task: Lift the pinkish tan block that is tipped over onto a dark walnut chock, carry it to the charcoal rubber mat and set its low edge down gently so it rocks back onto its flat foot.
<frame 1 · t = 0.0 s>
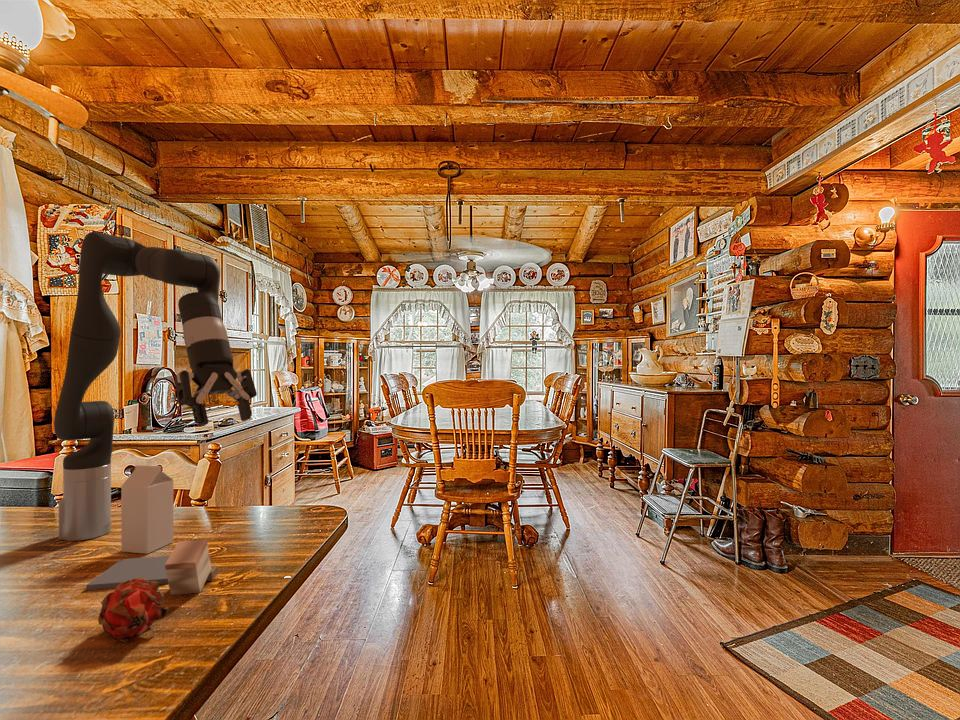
hand: (225, 422, 91), 31 cm above the table, tool tilted 20°, fingers open, 8 cm apart
dragon fruit: (133, 633, 76), on the table
pinkish tan block: (185, 593, 88), on the table, touching walnut chock
milk carton: (148, 548, 110), on the table
walnut chock: (198, 578, 94), on the table
charcoal mat: (143, 573, 97), on the table
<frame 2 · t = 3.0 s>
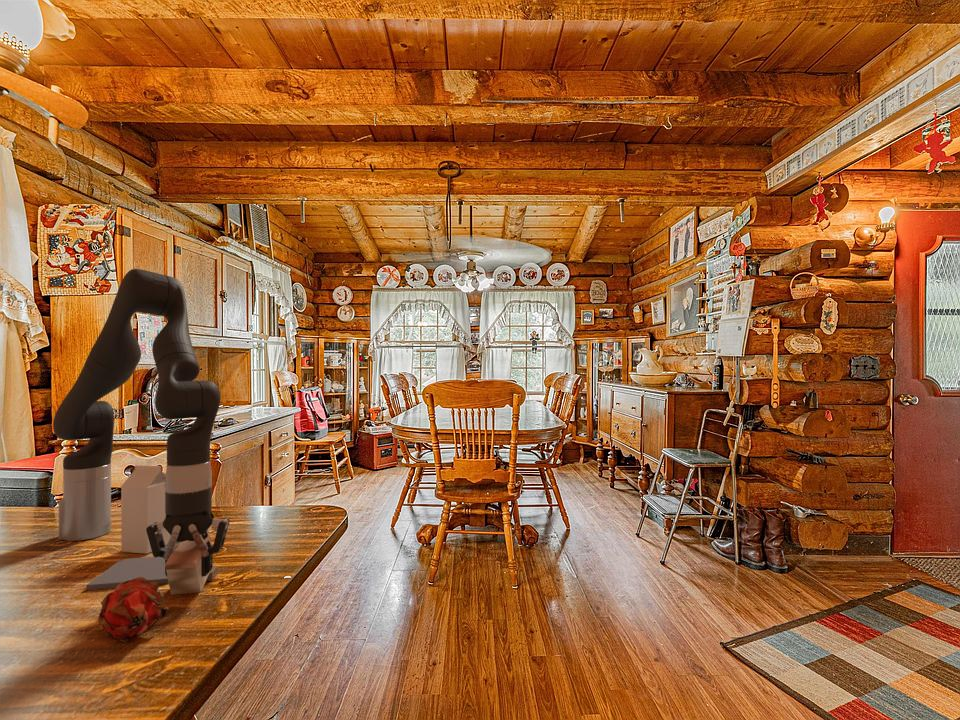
hand: (189, 575, 90), 3 cm above the table, tool pointing down, fingers closed on pinkish tan block, 5 cm apart
pinkish tan block: (185, 593, 88), on the table, touching gripper
everything else where it was.
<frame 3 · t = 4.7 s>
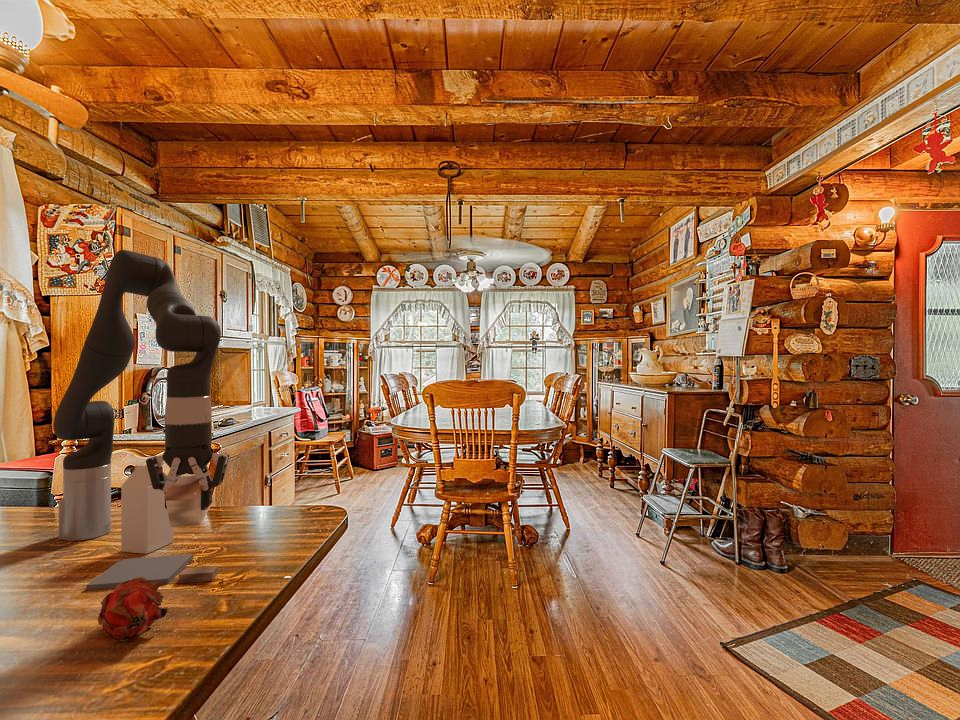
hand: (188, 509, 90), 15 cm above the table, tool pointing down, fingers closed on pinkish tan block, 5 cm apart
pinkish tan block: (185, 526, 88), point 12 cm above the table, touching gripper
everything else where it was.
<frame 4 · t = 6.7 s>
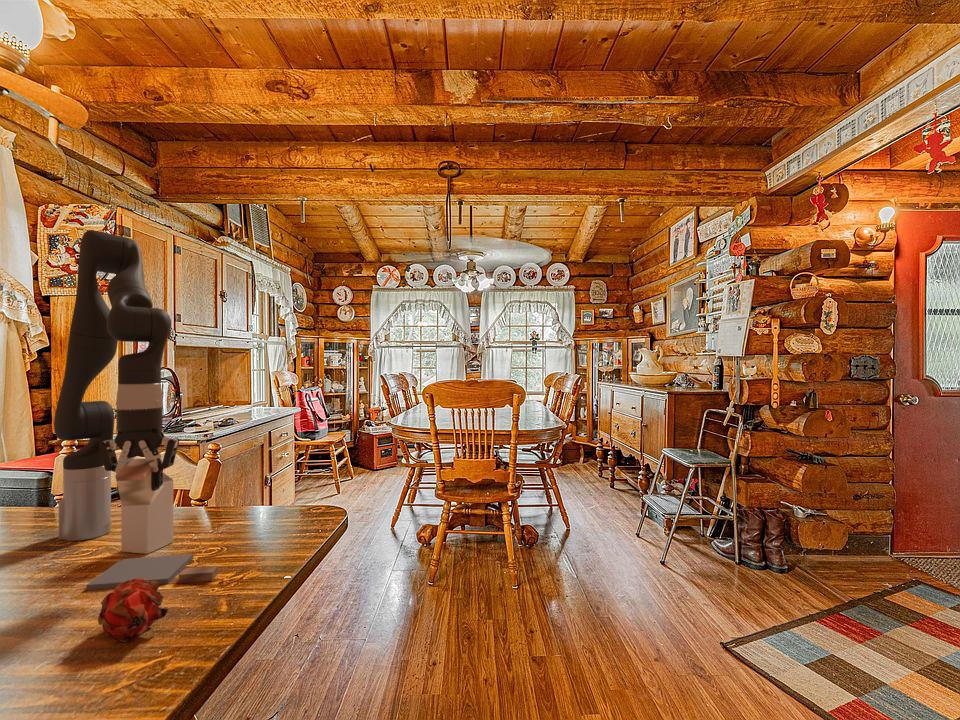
hand: (140, 490, 95), 17 cm above the table, tool pointing down, fingers closed on pinkish tan block, 5 cm apart
pinkish tan block: (136, 505, 94), point 15 cm above the table, touching gripper
everything else where it was.
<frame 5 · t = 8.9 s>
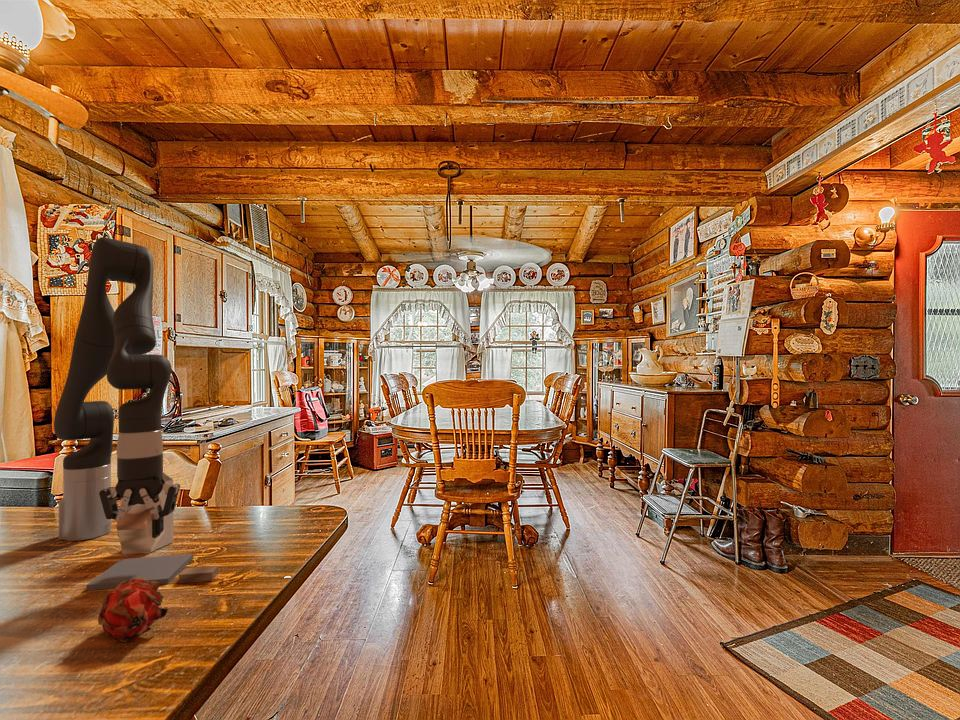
hand: (140, 537, 95), 8 cm above the table, tool pointing down, fingers closed on pinkish tan block, 5 cm apart
pinkish tan block: (137, 553, 94), point 5 cm above the table, touching gripper
everything else where it was.
when the fingers open (5 cm above the table, at t = 10.7 s): pinkish tan block stays where it is, resting on charcoal mat.
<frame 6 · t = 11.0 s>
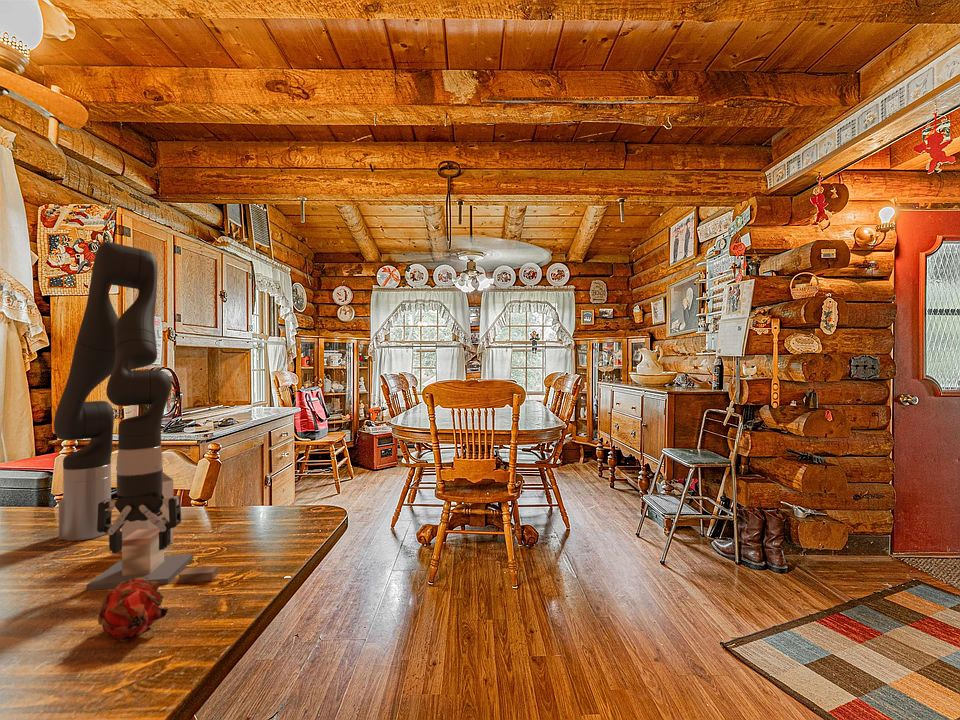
hand: (140, 550, 95), 5 cm above the table, tool pointing down, fingers open, 8 cm apart
pinkish tan block: (136, 574, 94), point 1 cm above the table, tilted 19°, touching charcoal mat
everything else where it was.
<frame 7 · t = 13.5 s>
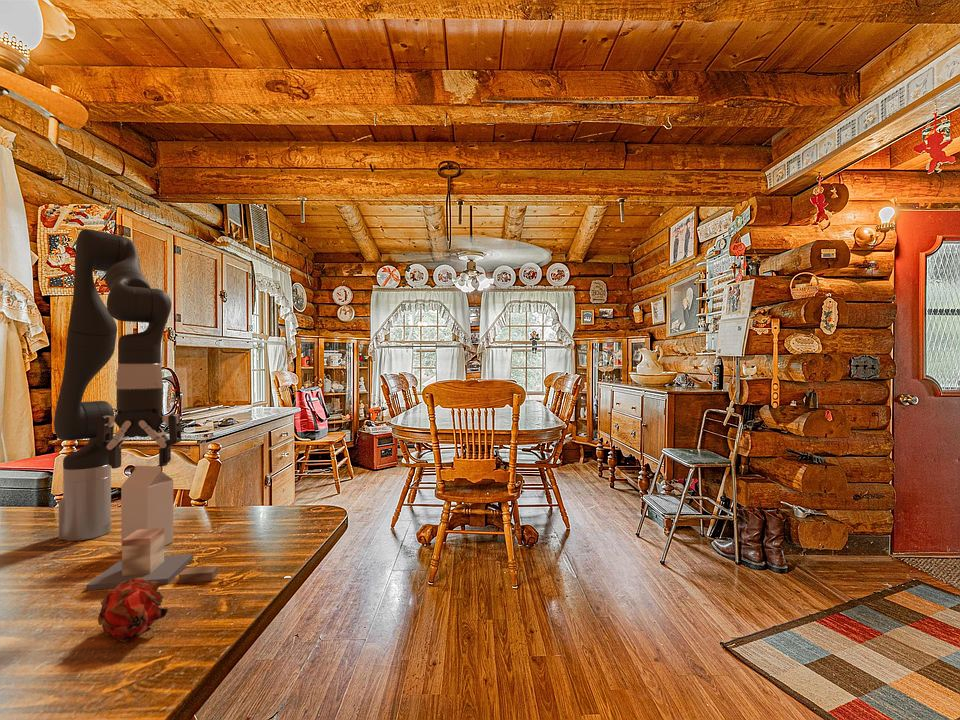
hand: (140, 466, 95), 22 cm above the table, tool pointing down, fingers open, 8 cm apart
nothing on the table moved.
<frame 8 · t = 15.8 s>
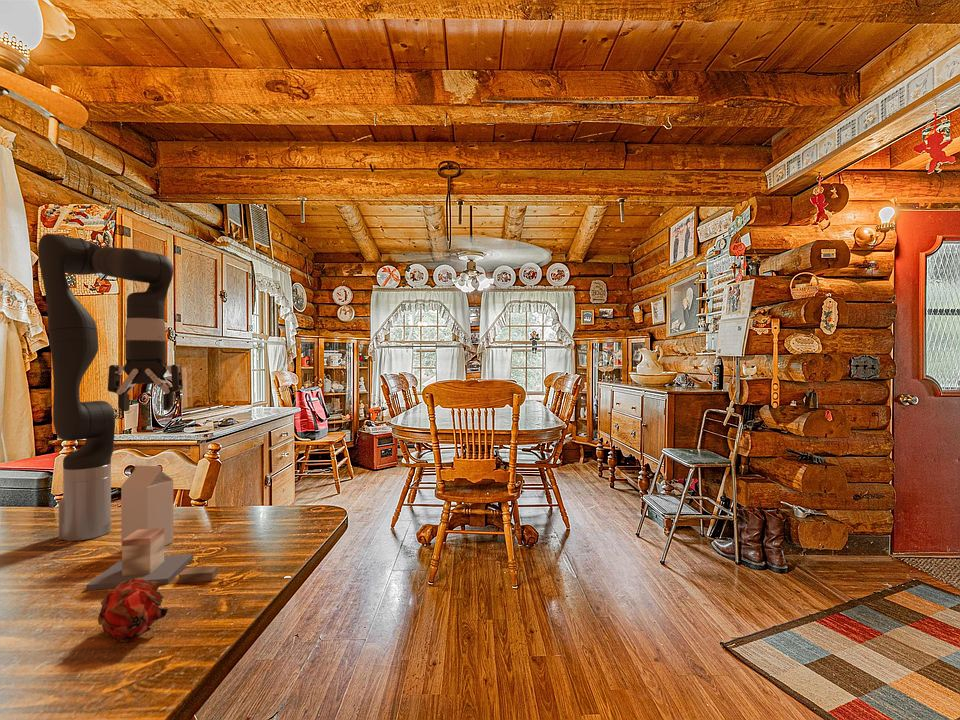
hand: (146, 410, 108), 32 cm above the table, tool pointing down, fingers open, 8 cm apart
nothing on the table moved.
at the end: pinkish tan block tilted 19°; pinkish tan block inside the target area on the charcoal mat (0.6 cm from its centre), point 1.0 cm above the charcoal mat's base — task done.
